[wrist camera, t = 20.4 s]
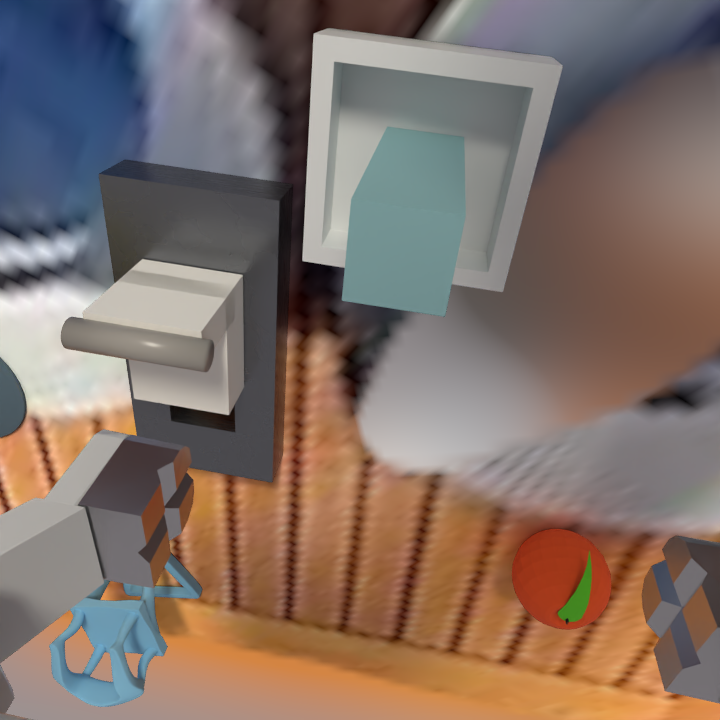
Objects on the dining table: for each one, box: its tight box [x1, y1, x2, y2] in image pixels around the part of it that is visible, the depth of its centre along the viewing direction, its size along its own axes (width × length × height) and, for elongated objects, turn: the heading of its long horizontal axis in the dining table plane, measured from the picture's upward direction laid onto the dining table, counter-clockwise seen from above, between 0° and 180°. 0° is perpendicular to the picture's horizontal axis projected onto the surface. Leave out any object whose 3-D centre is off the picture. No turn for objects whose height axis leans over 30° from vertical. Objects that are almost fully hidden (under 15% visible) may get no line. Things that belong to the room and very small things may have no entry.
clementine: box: [512, 529, 611, 629], centre depth 43 cm, size 8×7×7 cm
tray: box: [302, 28, 563, 292], centre depth 30 cm, size 11×11×4 cm
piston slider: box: [61, 259, 244, 415], centre depth 33 cm, size 8×7×8 cm
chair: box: [49, 554, 202, 707], centre depth 50 cm, size 8×8×12 cm
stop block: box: [342, 127, 466, 317], centre depth 26 cm, size 4×4×12 cm
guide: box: [99, 160, 293, 482], centre depth 38 cm, size 21×10×3 cm, turn 174°
